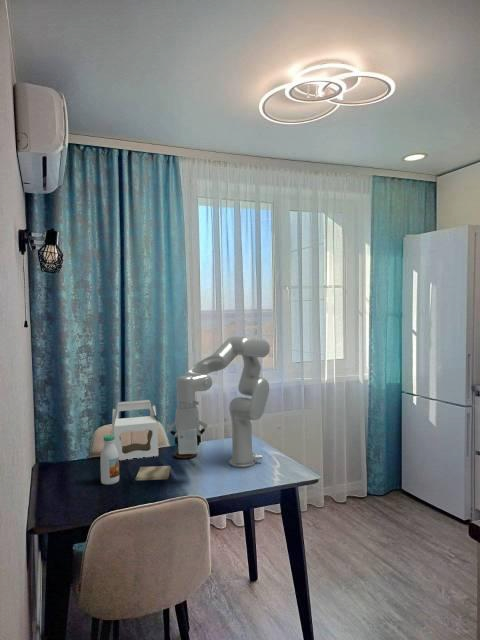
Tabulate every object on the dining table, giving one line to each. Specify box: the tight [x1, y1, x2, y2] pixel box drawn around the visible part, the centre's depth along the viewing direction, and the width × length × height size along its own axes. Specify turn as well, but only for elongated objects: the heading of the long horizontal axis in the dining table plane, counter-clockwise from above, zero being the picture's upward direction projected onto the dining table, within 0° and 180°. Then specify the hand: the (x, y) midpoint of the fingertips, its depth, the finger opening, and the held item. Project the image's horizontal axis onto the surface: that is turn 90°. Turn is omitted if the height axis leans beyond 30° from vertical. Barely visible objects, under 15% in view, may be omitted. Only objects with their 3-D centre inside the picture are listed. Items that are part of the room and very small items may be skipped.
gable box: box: [111, 399, 159, 461], centre depth 239 cm, size 22×13×28 cm, turn 108°
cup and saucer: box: [173, 449, 198, 459], centre depth 235 cm, size 12×12×6 cm
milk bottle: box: [100, 434, 120, 485], centre depth 202 cm, size 8×8×20 cm
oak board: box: [135, 465, 172, 481], centre depth 210 cm, size 14×14×1 cm
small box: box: [177, 429, 200, 455], centre depth 199 cm, size 8×6×10 cm
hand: (188, 444), depth 199 cm, fingers closed on small box, 8 cm apart
